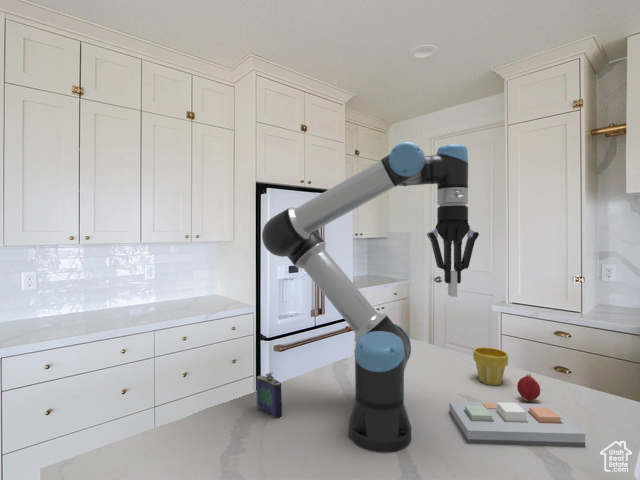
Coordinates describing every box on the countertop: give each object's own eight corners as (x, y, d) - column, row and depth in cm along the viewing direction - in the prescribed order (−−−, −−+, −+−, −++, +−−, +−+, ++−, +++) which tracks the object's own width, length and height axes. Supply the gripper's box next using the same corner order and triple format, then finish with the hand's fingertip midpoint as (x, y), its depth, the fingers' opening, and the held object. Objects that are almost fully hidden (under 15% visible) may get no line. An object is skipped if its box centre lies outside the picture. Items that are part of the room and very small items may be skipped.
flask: (254, 408, 98) (254, 370, 98) (262, 404, 100) (262, 367, 100) (277, 419, 92) (277, 379, 92) (285, 415, 94) (285, 375, 94)
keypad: (467, 443, 81) (467, 429, 81) (449, 412, 95) (449, 400, 95) (585, 446, 79) (585, 432, 79) (548, 415, 93) (548, 403, 93)
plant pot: (509, 378, 117) (509, 349, 117) (506, 390, 108) (506, 359, 108) (475, 372, 123) (475, 344, 123) (470, 383, 114) (470, 353, 114)
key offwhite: (505, 424, 85) (505, 411, 85) (496, 414, 90) (496, 402, 89) (526, 424, 84) (526, 412, 84) (516, 414, 89) (516, 402, 89)
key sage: (472, 427, 85) (472, 415, 85) (465, 417, 90) (465, 405, 90) (492, 428, 85) (492, 415, 85) (484, 417, 90) (484, 406, 90)
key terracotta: (539, 429, 84) (539, 416, 84) (529, 418, 89) (529, 407, 89) (560, 429, 84) (560, 417, 84) (548, 419, 89) (548, 407, 89)
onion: (544, 406, 98) (544, 378, 98) (521, 405, 99) (521, 377, 99) (535, 397, 104) (535, 370, 103) (514, 395, 105) (514, 369, 105)
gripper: (430, 204, 88) (431, 298, 88) (483, 204, 87) (483, 298, 87) (423, 207, 95) (424, 293, 96) (472, 206, 95) (472, 293, 95)
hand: (452, 295), depth 91 cm, fingers closed
